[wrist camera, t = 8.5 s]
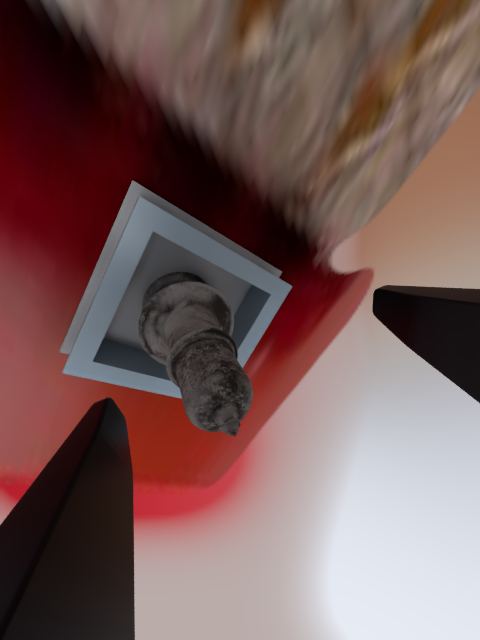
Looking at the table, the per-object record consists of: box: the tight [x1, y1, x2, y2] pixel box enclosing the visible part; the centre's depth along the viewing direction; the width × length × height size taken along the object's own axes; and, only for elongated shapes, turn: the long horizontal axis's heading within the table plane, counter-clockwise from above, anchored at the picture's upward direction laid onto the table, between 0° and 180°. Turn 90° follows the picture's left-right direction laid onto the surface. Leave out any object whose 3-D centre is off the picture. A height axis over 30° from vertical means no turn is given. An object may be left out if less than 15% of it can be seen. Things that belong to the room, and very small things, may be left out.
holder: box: [59, 180, 293, 399], centre depth 18 cm, size 12×12×4 cm
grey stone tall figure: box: [139, 272, 253, 436], centre depth 14 cm, size 6×6×12 cm
